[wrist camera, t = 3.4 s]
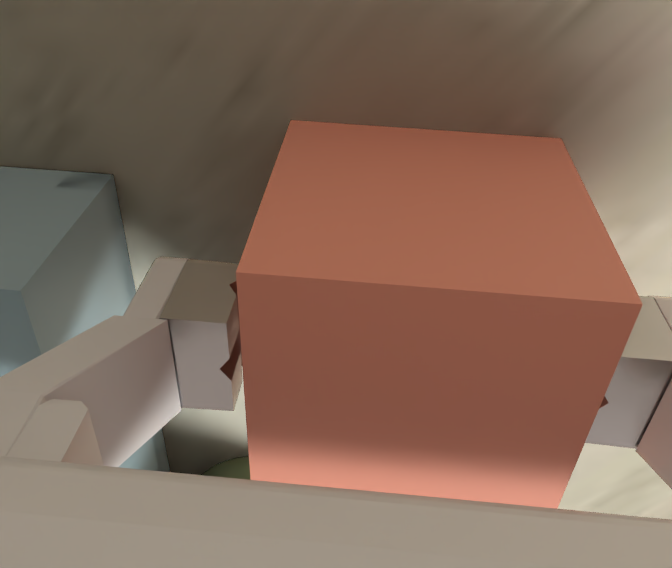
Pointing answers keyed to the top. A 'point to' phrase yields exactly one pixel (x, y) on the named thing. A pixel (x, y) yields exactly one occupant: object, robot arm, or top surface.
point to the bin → (62, 269)
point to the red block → (427, 314)
